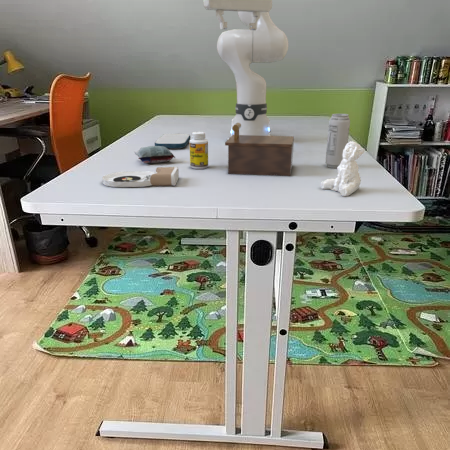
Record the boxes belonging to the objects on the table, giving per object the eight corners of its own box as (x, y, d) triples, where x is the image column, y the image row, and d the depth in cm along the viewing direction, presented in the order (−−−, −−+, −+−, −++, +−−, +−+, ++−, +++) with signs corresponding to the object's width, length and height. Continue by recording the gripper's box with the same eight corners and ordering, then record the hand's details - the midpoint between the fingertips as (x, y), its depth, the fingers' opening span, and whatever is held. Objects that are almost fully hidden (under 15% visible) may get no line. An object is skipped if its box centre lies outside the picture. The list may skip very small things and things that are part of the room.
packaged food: (135, 160, 149) (133, 144, 147) (170, 158, 152) (170, 142, 150) (139, 166, 142) (137, 149, 139) (176, 163, 145) (175, 147, 143)
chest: (228, 173, 132) (228, 145, 128) (235, 163, 144) (235, 137, 140) (290, 176, 129) (291, 147, 126) (292, 165, 141) (293, 139, 138)
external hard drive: (163, 138, 187) (163, 133, 186) (191, 138, 186) (191, 133, 185) (153, 149, 165) (152, 143, 165) (184, 149, 165) (184, 143, 164)
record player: (173, 175, 117) (96, 176, 117) (174, 187, 118) (97, 188, 119) (178, 165, 127) (107, 166, 128) (179, 176, 129) (109, 177, 129)
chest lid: (225, 145, 128) (225, 126, 126) (232, 137, 141) (232, 120, 138) (291, 147, 126) (293, 128, 123) (293, 139, 138) (294, 121, 135)
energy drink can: (347, 168, 138) (353, 115, 131) (328, 168, 137) (333, 116, 131) (341, 163, 143) (347, 113, 136) (322, 164, 143) (327, 113, 136)
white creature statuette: (318, 188, 117) (322, 140, 112) (343, 183, 121) (348, 137, 116) (344, 197, 110) (350, 145, 104) (370, 192, 114) (377, 142, 108)
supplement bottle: (187, 168, 138) (185, 133, 133) (194, 164, 143) (193, 130, 138) (204, 170, 136) (203, 134, 132) (211, 166, 141) (210, 131, 136)
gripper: (265, -25, 130) (264, 31, 136) (200, -30, 122) (201, 29, 128) (277, -28, 125) (275, 30, 131) (210, -34, 117) (210, 28, 123)
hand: (238, 29), depth 130 cm, fingers open, 8 cm apart
